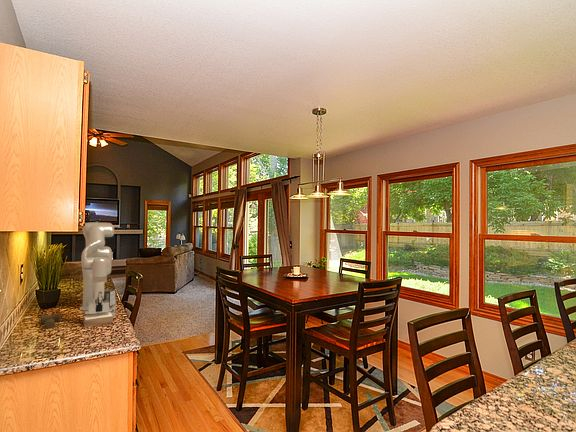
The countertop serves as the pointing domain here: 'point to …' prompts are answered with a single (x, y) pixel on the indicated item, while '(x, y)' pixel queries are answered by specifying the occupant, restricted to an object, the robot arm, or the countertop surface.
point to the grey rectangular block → (50, 320)
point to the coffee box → (110, 300)
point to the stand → (97, 319)
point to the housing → (93, 307)
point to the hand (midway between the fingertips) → (98, 310)
